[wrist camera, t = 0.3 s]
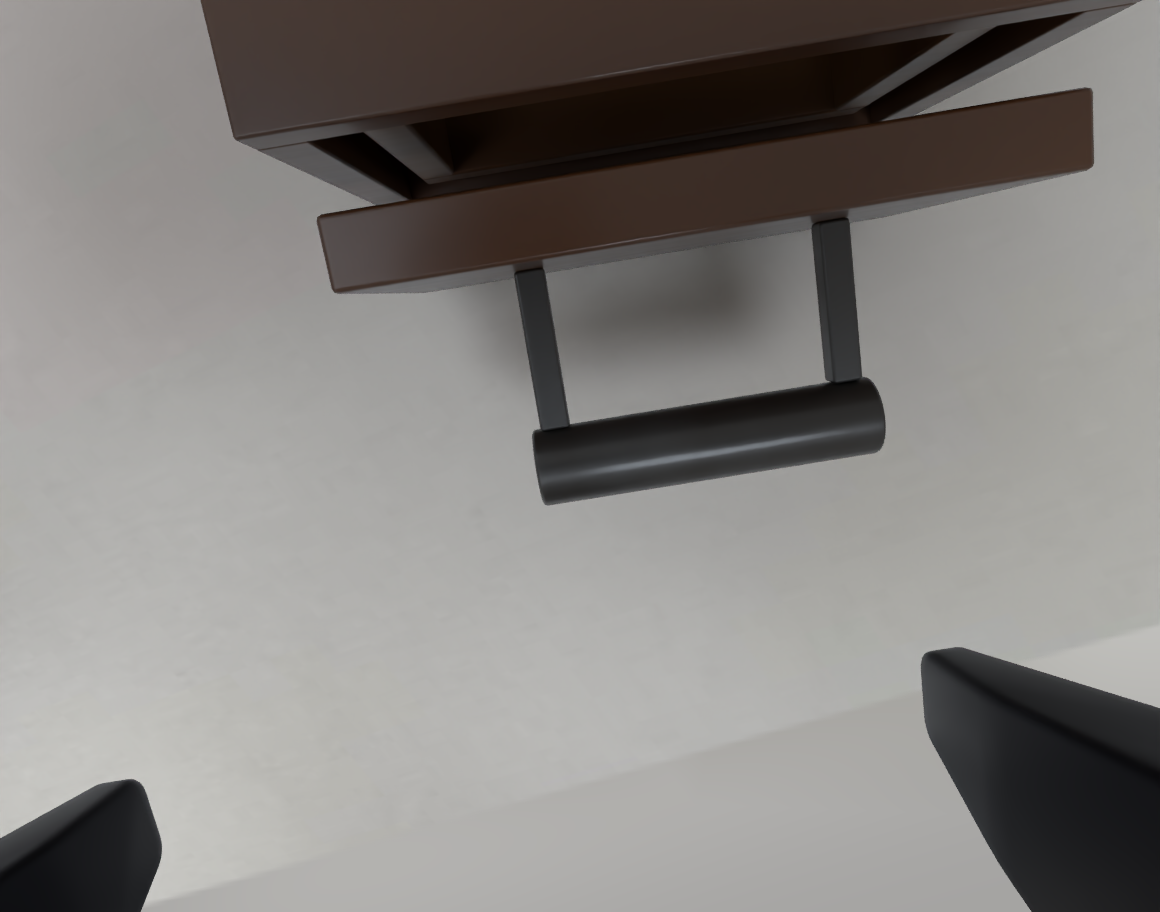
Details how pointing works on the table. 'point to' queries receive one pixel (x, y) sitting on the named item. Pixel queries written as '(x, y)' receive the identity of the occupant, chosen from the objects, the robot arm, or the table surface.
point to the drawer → (696, 231)
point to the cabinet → (565, 65)
